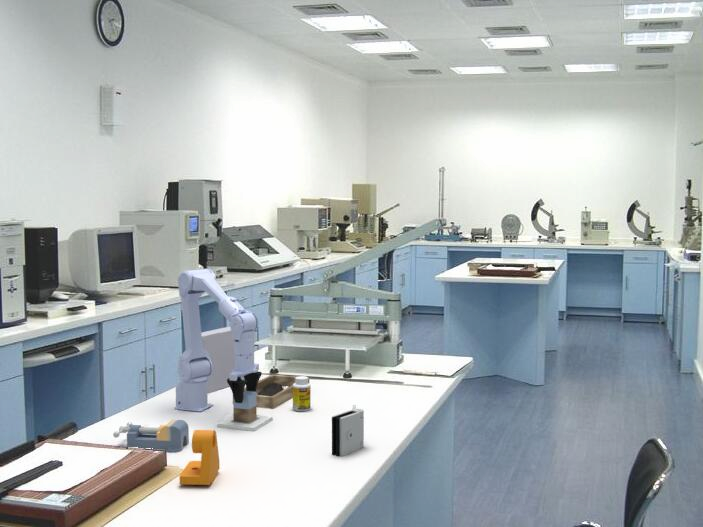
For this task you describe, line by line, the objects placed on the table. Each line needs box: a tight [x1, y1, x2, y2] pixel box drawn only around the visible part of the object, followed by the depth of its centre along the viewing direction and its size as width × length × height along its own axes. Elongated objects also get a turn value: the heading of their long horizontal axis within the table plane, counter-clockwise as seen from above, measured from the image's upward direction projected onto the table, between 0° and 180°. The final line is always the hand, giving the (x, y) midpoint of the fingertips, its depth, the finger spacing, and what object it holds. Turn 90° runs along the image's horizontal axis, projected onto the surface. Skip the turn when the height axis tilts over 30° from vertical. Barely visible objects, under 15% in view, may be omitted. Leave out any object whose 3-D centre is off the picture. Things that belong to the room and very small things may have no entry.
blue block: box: [232, 391, 257, 409], centre depth 237 cm, size 5×5×4 cm
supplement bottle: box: [292, 375, 311, 412], centre depth 252 cm, size 6×6×10 cm
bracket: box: [179, 429, 221, 486], centre depth 191 cm, size 11×7×12 cm
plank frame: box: [244, 374, 310, 409], centre depth 269 cm, size 14×28×4 cm, turn 159°
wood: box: [257, 382, 284, 396], centre depth 270 cm, size 22×8×3 cm, turn 170°
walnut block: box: [232, 406, 258, 423], centre depth 237 cm, size 5×5×4 cm
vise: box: [113, 419, 190, 454], centre depth 216 cm, size 18×10×7 cm, turn 83°
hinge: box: [331, 404, 365, 457], centre depth 214 cm, size 14×5×10 cm, turn 153°
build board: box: [216, 414, 274, 432], centre depth 237 cm, size 12×12×1 cm
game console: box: [192, 325, 245, 394], centre depth 282 cm, size 6×27×20 cm, turn 148°
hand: (244, 399), depth 236 cm, fingers open, 7 cm apart
